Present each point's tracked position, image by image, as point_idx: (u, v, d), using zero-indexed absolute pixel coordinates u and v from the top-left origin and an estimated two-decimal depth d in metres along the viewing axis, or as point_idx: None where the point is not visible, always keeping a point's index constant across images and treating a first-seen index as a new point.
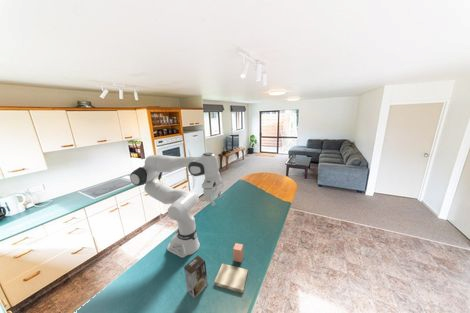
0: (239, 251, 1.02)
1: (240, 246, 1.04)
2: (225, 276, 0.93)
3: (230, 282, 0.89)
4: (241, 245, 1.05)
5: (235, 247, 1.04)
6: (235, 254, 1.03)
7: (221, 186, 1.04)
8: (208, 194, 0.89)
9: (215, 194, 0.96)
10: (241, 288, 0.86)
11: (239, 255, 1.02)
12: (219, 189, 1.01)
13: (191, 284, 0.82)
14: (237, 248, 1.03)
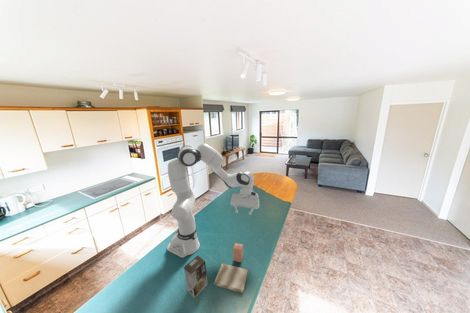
0: (239, 251, 1.02)
1: (240, 246, 1.04)
2: (225, 276, 0.93)
3: (230, 282, 0.89)
4: (241, 245, 1.05)
5: (235, 247, 1.04)
6: (235, 254, 1.03)
7: None
8: None
9: None
10: (241, 288, 0.86)
11: (239, 255, 1.02)
12: None
13: (191, 284, 0.82)
14: (237, 248, 1.03)
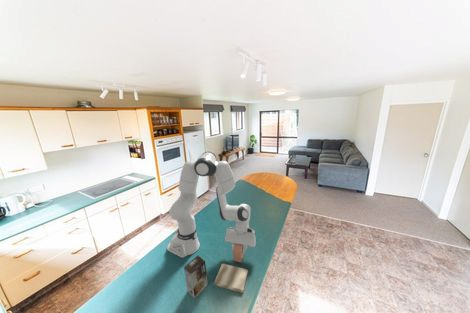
0: (239, 251, 1.02)
1: (240, 246, 1.04)
2: (225, 276, 0.93)
3: (230, 282, 0.89)
4: (241, 245, 1.05)
5: (235, 247, 1.04)
6: (235, 254, 1.03)
7: None
8: (255, 239, 1.07)
9: None
10: (241, 288, 0.86)
11: (239, 255, 1.02)
12: None
13: (191, 284, 0.82)
14: (237, 248, 1.03)
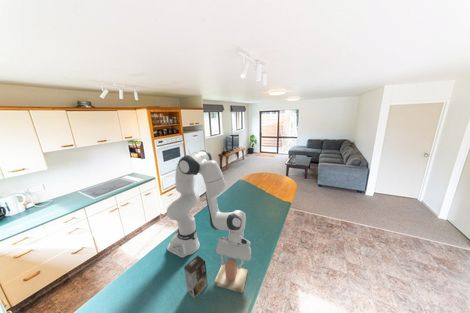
0: (232, 268, 0.88)
1: (233, 262, 0.91)
2: (225, 276, 0.93)
3: (230, 282, 0.89)
4: (234, 261, 0.92)
5: (227, 263, 0.90)
6: (228, 272, 0.90)
7: None
8: (250, 251, 0.93)
9: None
10: (241, 288, 0.86)
11: (232, 273, 0.89)
12: None
13: (191, 284, 0.82)
14: (230, 264, 0.89)
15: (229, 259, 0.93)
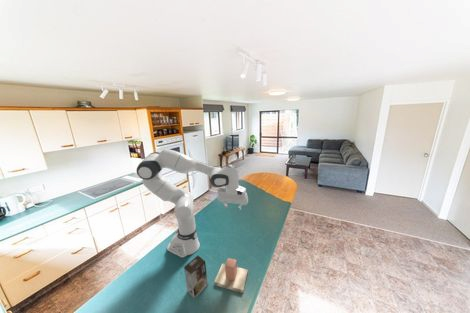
0: (232, 268, 0.88)
1: (233, 262, 0.91)
2: (225, 276, 0.93)
3: (230, 282, 0.89)
4: (234, 261, 0.92)
5: (227, 263, 0.90)
6: (228, 272, 0.90)
7: None
8: (247, 197, 1.06)
9: None
10: (241, 288, 0.86)
11: (232, 273, 0.89)
12: None
13: (191, 284, 0.82)
14: (230, 264, 0.89)
15: (229, 259, 0.93)
